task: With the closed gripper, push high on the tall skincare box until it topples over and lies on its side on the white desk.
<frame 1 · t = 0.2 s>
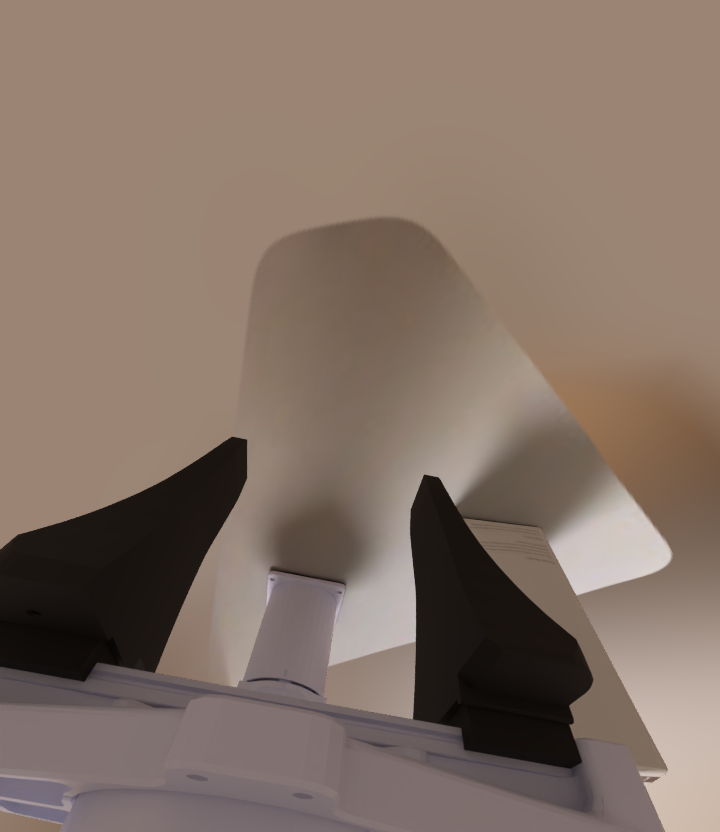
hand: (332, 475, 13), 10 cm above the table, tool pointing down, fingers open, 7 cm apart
skincare box: (486, 539, 30), on the table
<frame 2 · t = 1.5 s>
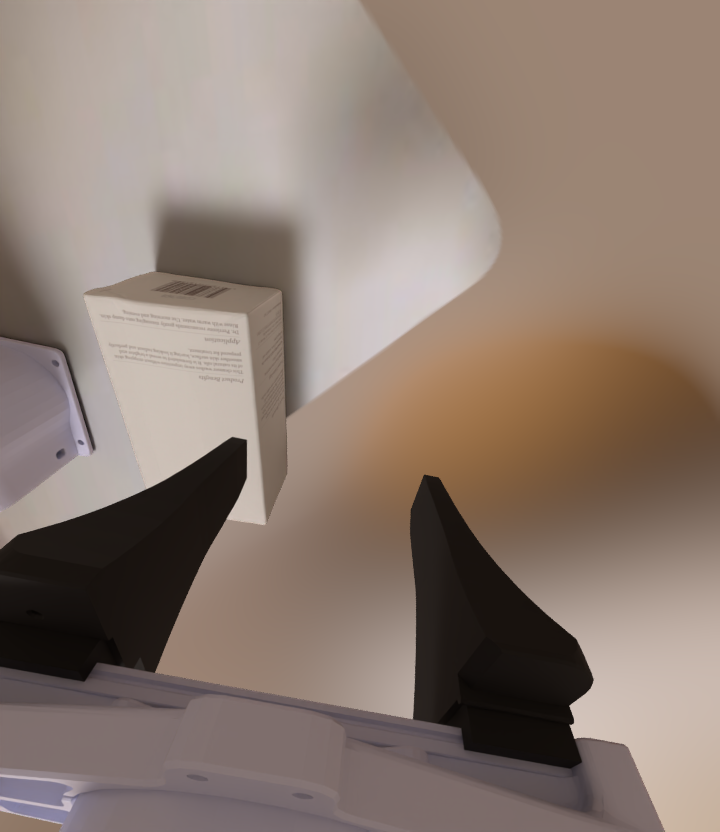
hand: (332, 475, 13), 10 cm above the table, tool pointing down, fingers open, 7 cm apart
skincare box: (195, 284, 17), point 3 cm above the table
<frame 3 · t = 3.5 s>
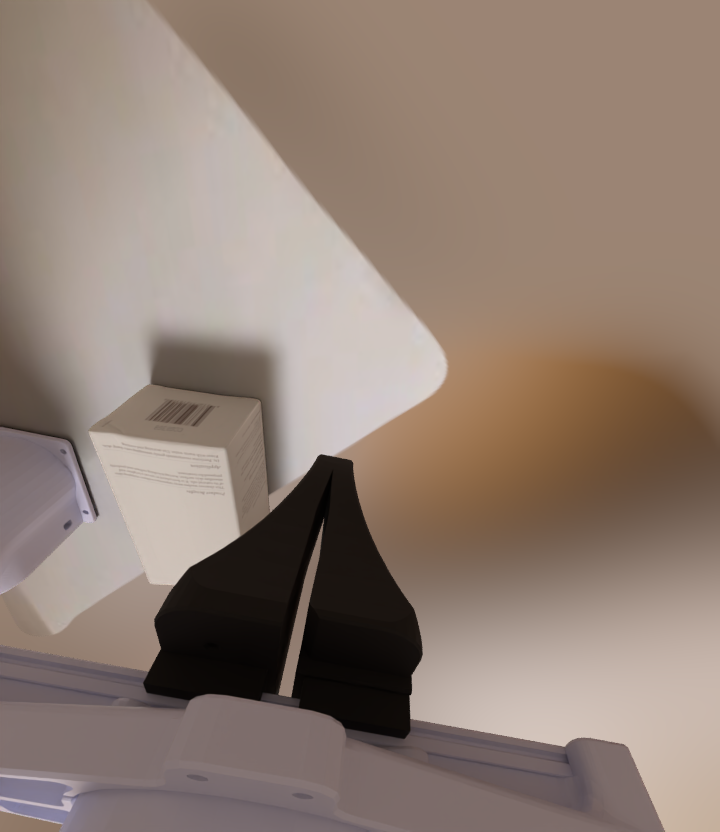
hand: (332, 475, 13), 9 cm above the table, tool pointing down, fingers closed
skincare box: (184, 409, 20), point 3 cm above the table
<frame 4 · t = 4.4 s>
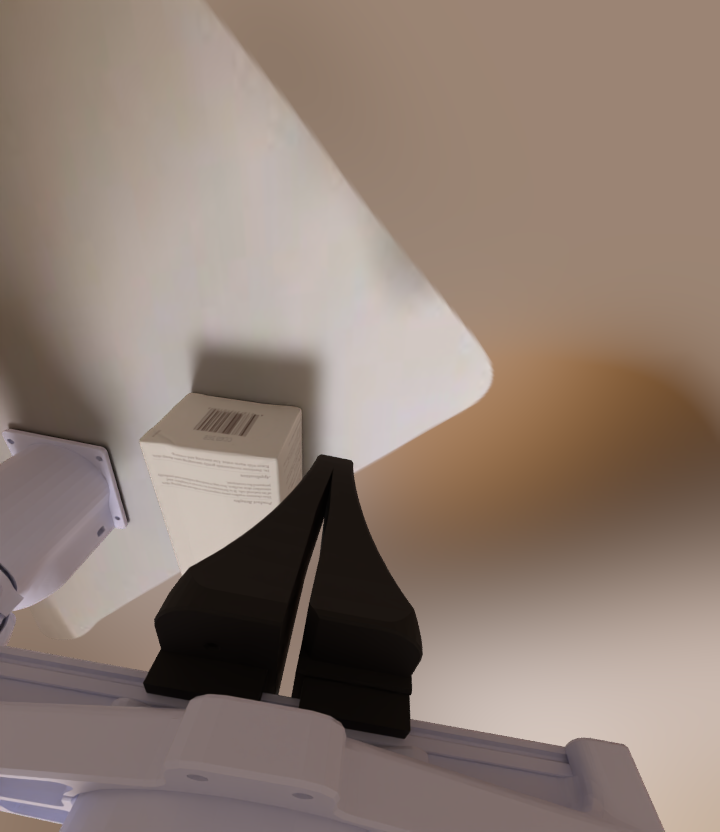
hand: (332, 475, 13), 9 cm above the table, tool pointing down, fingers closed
skincare box: (230, 419, 20), point 3 cm above the table
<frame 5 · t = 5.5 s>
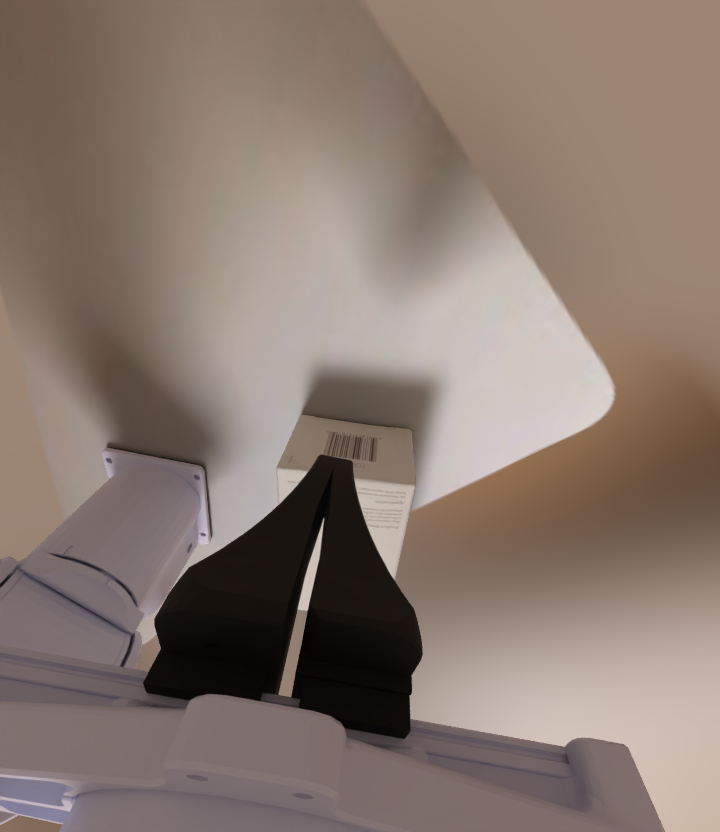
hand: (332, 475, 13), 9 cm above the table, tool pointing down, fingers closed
skincare box: (355, 443, 20), point 3 cm above the table
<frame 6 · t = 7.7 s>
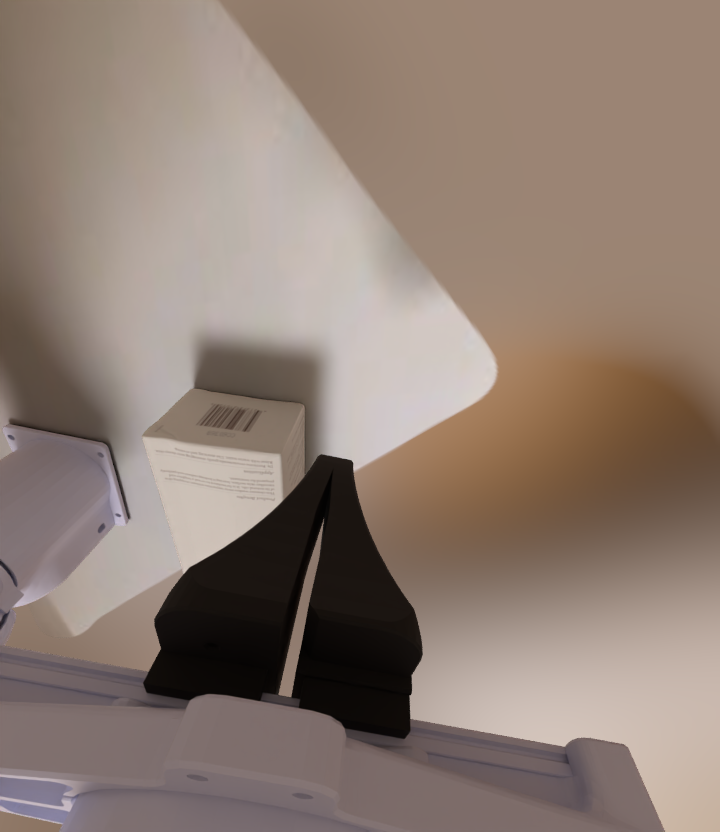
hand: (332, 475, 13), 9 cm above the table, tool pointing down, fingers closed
skincare box: (233, 414, 20), point 3 cm above the table
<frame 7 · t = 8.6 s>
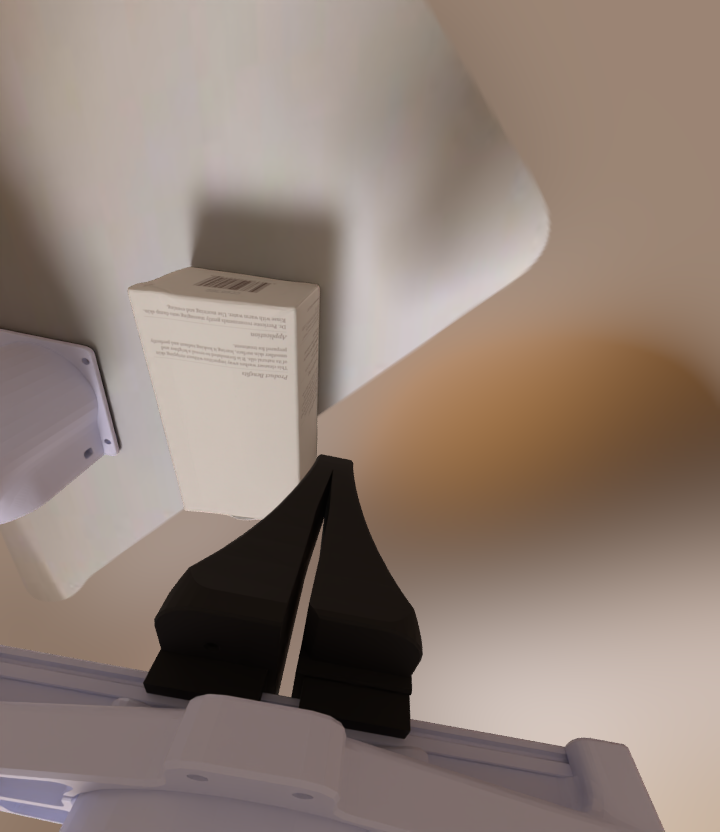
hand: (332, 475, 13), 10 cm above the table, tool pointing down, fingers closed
skincare box: (237, 279, 17), point 3 cm above the table
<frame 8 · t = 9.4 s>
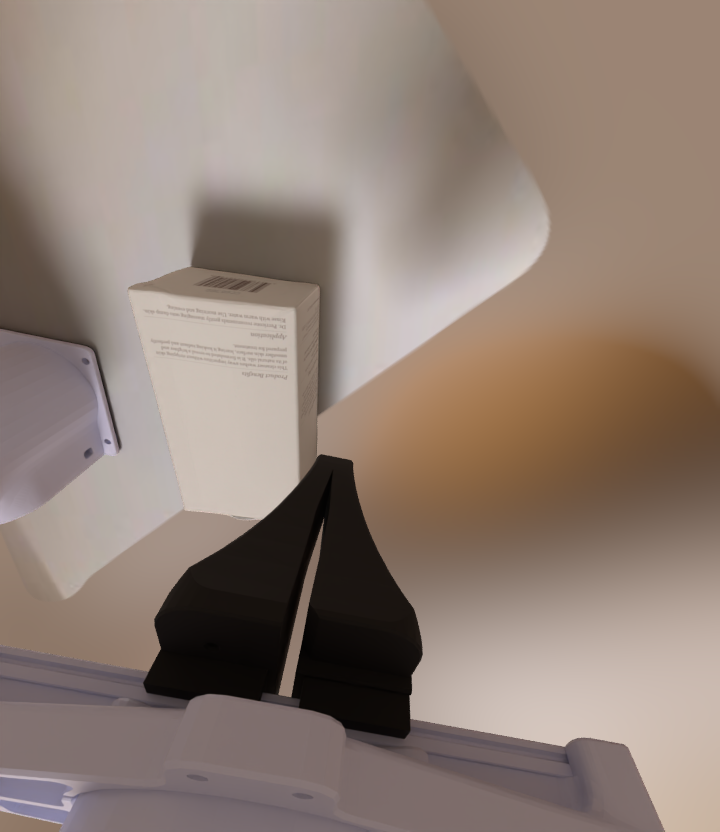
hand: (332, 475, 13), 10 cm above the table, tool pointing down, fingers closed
skincare box: (237, 279, 17), point 3 cm above the table
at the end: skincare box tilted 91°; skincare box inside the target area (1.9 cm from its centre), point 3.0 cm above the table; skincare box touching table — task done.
